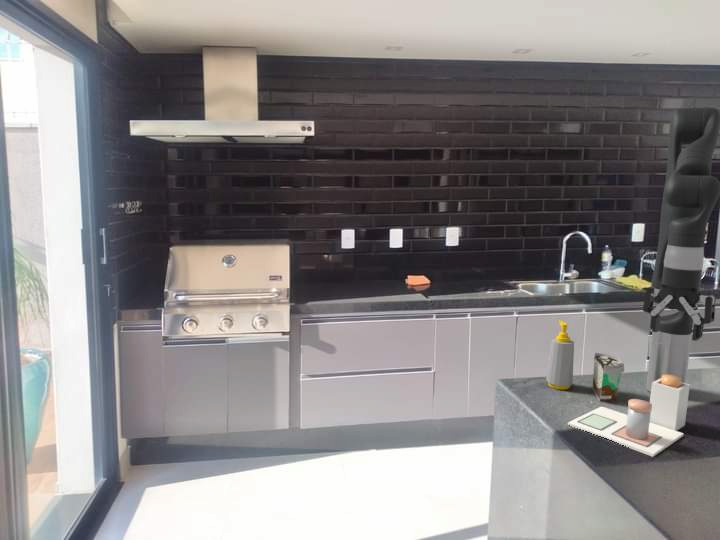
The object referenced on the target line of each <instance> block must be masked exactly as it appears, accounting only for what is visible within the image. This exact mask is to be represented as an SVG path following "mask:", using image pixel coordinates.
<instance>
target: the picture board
mask: <svg viewBox="0 0 720 540" xmlns="http://www.w3.org/2000/svg"><path fill="white" fill-rule="evenodd" d="M627 416H628V414H626V413H622V412H620V411H616V410H614V409H611V408H607V407H604V406H599V407H598V408H595V409H593V410H591V411H588V412H587V413H584V414H583V415H580V416H579V417H576V418H574V419H573V420H570V421H569V422H567V426H569V425H570V426H569V427H571V426H572V427H571V428H574V427H575V428H574V429H577V428H578V429H577V430H579V429H581V430H580V431H582V430H584V431H583V432H585V431H587V432H590V433H592V434H591V435H593V434H595V435H594V436H596V435H598V436H601V437H604V438H607V439H609V440H612V441H614V442H617V443H619V444H618V445H620V444H621V445H620V446H622V445H624V446H623V447H625V446H626V447H625V448H628V447H629V448H628V449H631V450H634V451H636V452H638V453H642V454H644V455H647V456H650V457H652V458H653V457H655V456H656V455H658V454H659V453H661V452H662V451H663V450H665V449H666V448H668V447H669V446H671V445H673V443H675V442H677V441H678V440H680V439H681V438H683V437H684V433H683V432H681V431H678V430H677V431H675V430H672V429H669V428H666V427H663V426H660V425H657V424H653V423H649V432H648V439H646V440H637V439H633V438H631V437H629V436H627V435H626V425H627ZM587 432H586V433H587ZM590 433H589V434H590ZM598 436H597V437H598ZM601 437H600V438H601ZM604 438H603V439H604ZM609 440H608V441H609ZM612 441H611V442H612ZM614 442H613V443H614ZM617 443H616V444H617Z"/></svg>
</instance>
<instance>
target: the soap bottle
mask: <svg viewBox="0 0 720 540" xmlns="http://www.w3.org/2000/svg"><path fill="white" fill-rule="evenodd" d="M558 323H559V325H560V327H561V331H560V332H559V333H558V335H557V336H556V337H555V338H552V339H551V343H550V349H549V350H550V351H549V358H548V364H547V373H546V379H545V380H546V381H547V384H548V386H549V387H550V388H551V389H555V390H562V391H563V390H564V391H566V390H569V389H570V388H571V386H572V385H573V383H574V380H573V379H574V356H575V355H574V353H575V341H574V340H572V339H571V338H570V337H569V333H568V332H567V329H568V326H569V323H566V322H564V320H558Z"/></svg>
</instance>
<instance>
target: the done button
mask: <svg viewBox="0 0 720 540" xmlns="http://www.w3.org/2000/svg"><path fill="white" fill-rule="evenodd" d="M661 384H663V385H666V386H670V387H674V388H677V389H678V388H680V387H681V378H680V377H678V376H674V375H668V374H665V375H662V379H661Z"/></svg>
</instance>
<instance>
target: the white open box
mask: <svg viewBox="0 0 720 540" xmlns="http://www.w3.org/2000/svg"><path fill="white" fill-rule="evenodd" d="M661 379H662V378H660V379H658V380H656V381H654V382H652V387H651V392H650V398H649V403H651V404H652V410H651V414H650V423H653V424H657V425H660V426H663V427H666V428H669V429H672V430H675V431H678V430H680V429H681V428H683V427H685V426H686V419H687V411H688V410H687V409H688V405H689V404H688V403H689V393H690V386H691V384H689V383H687V382H686V383H682V382H681V387H680V388H678V389H677V388H674V387H670V386H666V385H663V384H661Z"/></svg>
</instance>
